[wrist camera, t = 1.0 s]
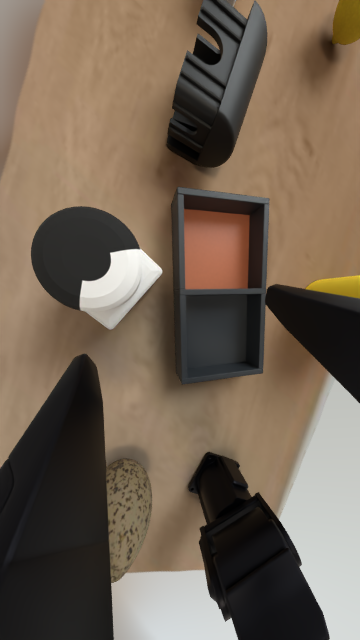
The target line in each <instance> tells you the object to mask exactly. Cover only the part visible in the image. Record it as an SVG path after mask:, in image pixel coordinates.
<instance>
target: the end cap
mask: <svg viewBox="0 0 360 640" xmlns="http://www.w3.org/2000/svg"><path fill="white" fill-rule="evenodd" d="M197 25H198V26H200V27H201V28H202V29H203V30H205V31H206V32H207V33H208V34H209V35H211V36H212V37H213V38H214V39H215V41H216V42H217V44H218V46H219V49H220V50H218V49H217V48H216V47H214V46H213V45H212V44H211V43H209V42H208V41H207V40H206V39H204V38H203V37H202V36H201V35H199V34H198V35H197V38H196V42H195V47H194V51H193V54H191V53H190V52H189V51H188V50H187V53H186V56H185V59H184V62H183V65H182V69H181V72H180V75H179V78H178V81H177V85H176V89H175V94H174V100H173V106H172V109H174V110H175V112H174V115H173V118H171V119H170V123H169V128H168V138H167V146H168V148H169V149H170V150H172V151H174V152H175V153H177V154H179V155H181V156H182V157H184V158H186V159H187V160H189V161H191V162H192V163H194V164H197V165H200V166H204V167H217V166H220V165H222V164H223V163H225V162H226V161H227V160H228V159H229V158H230V156H231V154H232V152H233V150H234V147H235V144H236V141H237V138H238V135H239V132H240V129H241V126H242V123H243V120H244V117H245V114H246V111H247V108H248V105H249V102H250V99H251V96H252V93H253V90H254V87H255V84H256V81H257V78H258V75H259V72H260V69H261V66H262V63H263V60H264V57H265V53H266V46H267V26H266V21H265V17H264V14H263V12H262V10H261V8H260V6H259V5H258V3H257V2H256V1H254V4H253V6H252V9H251V11H250V14H249V16H248V19H246V18H245V17H244V16H243V15H241V14H240V13H239V12H238V11H237V10H236V9H235V8H234V7H233V6H231V5H230V4H229V3H228V2H227V1H226V0H203V3H202V6H201V9H200V12H199V15H198V20H197Z"/></svg>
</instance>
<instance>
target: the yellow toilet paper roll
mask: <svg viewBox="0 0 360 640" xmlns="http://www.w3.org/2000/svg"><path fill="white" fill-rule="evenodd" d="M306 289H308V290H313V291H319V292H325V293H331V294H337V295H343V296H348V297H354V298H360V275H359V276H350V277H340V278H331V279H322V280H317V281H315V282H313V283H311V284H310V285H309V286H307V287H306Z"/></svg>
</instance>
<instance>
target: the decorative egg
mask: <svg viewBox="0 0 360 640" xmlns="http://www.w3.org/2000/svg"><path fill="white" fill-rule="evenodd" d="M106 482H107V505H108V528H109V540H108V541H109V547H110V569H111V583H113V582H116V581H118V580H119V579H120V578H122V576H123V575H124V574H125V573H126V572H127V570H128V569H129V568H130V566H131V564H132V563H133V561H134V560H135V558H136V556H137V554H138V552H139V550H140V548H141V546H142V543H143V541H144V538H145V535H146V532H147V529H148V526H149V521H150V516H151V509H152V490H151V484H150V480H149V477H148V475H147V473H146V471H145V469H144V468H143V467H142V466H141V465H140V464H139V463H138V462H136V461H134V460H132V459H121V460H118V461H116V462H114V463H112V464H111V465H110V466H108V467H107V468H106Z"/></svg>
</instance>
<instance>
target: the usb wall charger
mask: <svg viewBox="0 0 360 640" xmlns="http://www.w3.org/2000/svg"><path fill="white" fill-rule="evenodd" d="M226 1H227V2H228V3H229V4H230V5H231V6H233V7H234V4H235V1H236V0H226Z"/></svg>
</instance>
